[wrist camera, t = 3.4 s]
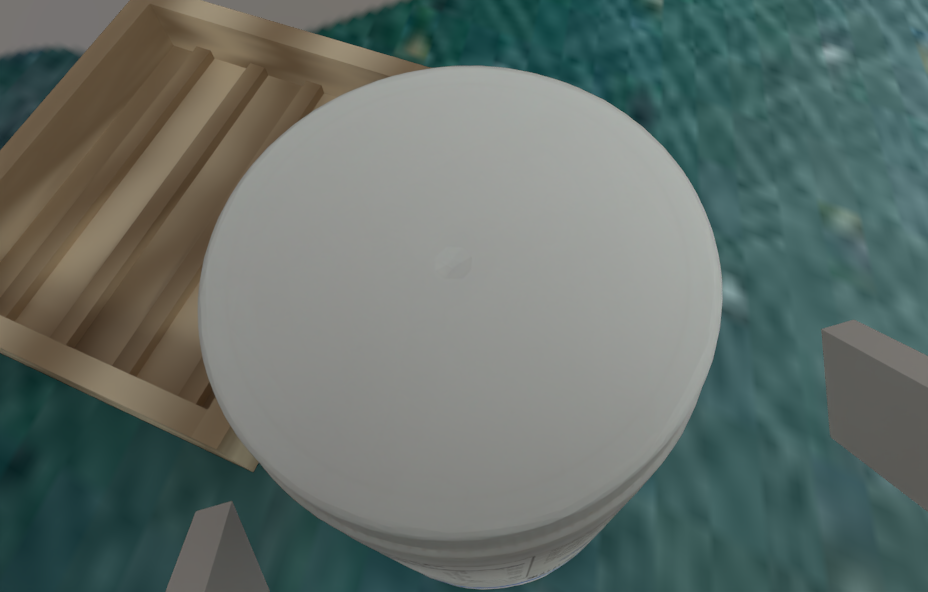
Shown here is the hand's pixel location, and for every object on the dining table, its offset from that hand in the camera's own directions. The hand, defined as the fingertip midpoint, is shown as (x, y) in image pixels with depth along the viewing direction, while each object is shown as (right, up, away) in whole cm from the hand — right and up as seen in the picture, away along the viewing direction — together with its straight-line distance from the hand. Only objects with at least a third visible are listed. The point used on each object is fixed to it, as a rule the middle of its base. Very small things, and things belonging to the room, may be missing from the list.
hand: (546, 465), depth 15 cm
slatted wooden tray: (-13, +7, +15) cm, 21 cm away
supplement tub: (-1, -2, +10) cm, 11 cm away
